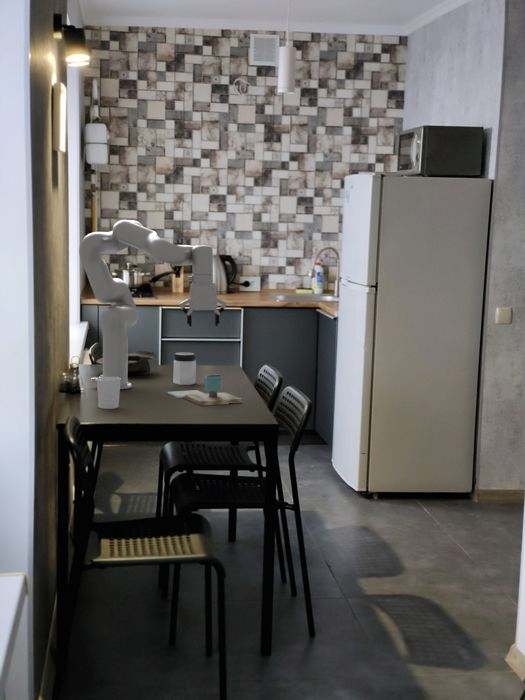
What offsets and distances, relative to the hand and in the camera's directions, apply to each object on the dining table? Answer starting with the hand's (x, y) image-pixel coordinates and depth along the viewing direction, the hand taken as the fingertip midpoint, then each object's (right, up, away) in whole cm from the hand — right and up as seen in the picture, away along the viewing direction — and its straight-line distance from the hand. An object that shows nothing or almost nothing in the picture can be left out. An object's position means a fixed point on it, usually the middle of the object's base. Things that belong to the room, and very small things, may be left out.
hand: (203, 325), depth 341 cm
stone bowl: (-36, -19, +49) cm, 63 cm away
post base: (+4, -27, -7) cm, 28 cm away
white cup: (-31, -29, -24) cm, 49 cm away
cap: (+4, -23, -7) cm, 25 cm away
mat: (-6, -26, +4) cm, 27 cm away
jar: (-9, -23, +29) cm, 38 cm away
